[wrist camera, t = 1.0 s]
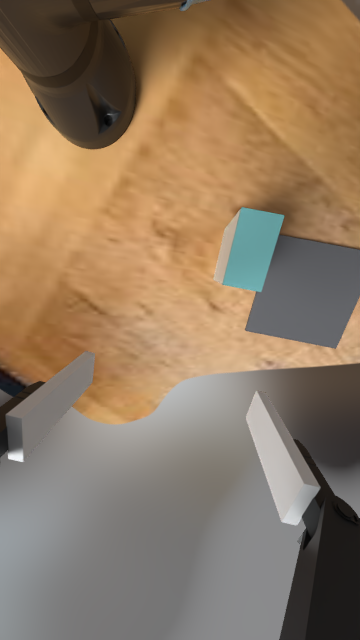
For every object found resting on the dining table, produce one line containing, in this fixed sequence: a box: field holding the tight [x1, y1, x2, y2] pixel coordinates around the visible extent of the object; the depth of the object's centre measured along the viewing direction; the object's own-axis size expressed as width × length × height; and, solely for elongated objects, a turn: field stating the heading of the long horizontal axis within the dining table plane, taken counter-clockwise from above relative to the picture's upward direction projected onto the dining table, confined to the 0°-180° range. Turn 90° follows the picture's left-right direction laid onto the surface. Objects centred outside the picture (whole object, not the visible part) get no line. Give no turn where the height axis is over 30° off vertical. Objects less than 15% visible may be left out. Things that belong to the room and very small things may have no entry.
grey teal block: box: [213, 207, 285, 292], centre depth 29 cm, size 9×5×12 cm, turn 169°
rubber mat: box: [245, 235, 360, 349], centre depth 35 cm, size 18×18×1 cm
